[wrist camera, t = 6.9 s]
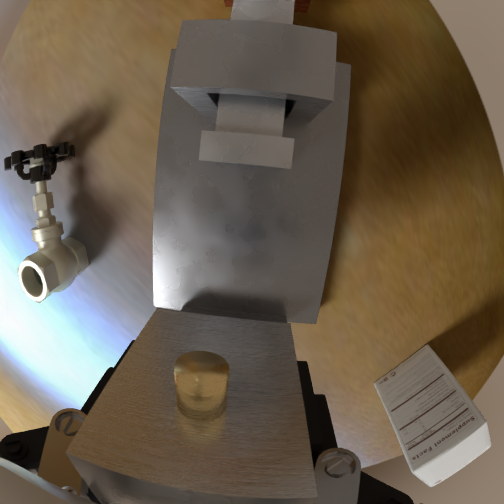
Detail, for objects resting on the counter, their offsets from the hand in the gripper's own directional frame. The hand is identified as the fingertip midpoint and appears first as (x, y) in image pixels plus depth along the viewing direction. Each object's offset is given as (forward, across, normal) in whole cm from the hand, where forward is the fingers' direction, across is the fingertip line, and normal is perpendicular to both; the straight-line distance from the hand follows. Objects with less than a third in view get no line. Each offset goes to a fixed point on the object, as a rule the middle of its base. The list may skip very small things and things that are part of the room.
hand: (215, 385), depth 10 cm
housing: (+1, 0, 0) cm, 1 cm away
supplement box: (+14, -20, +11) cm, 27 cm away
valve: (+14, +16, -3) cm, 22 cm away
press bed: (+14, 0, -7) cm, 15 cm away
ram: (+12, 0, -15) cm, 19 cm away
